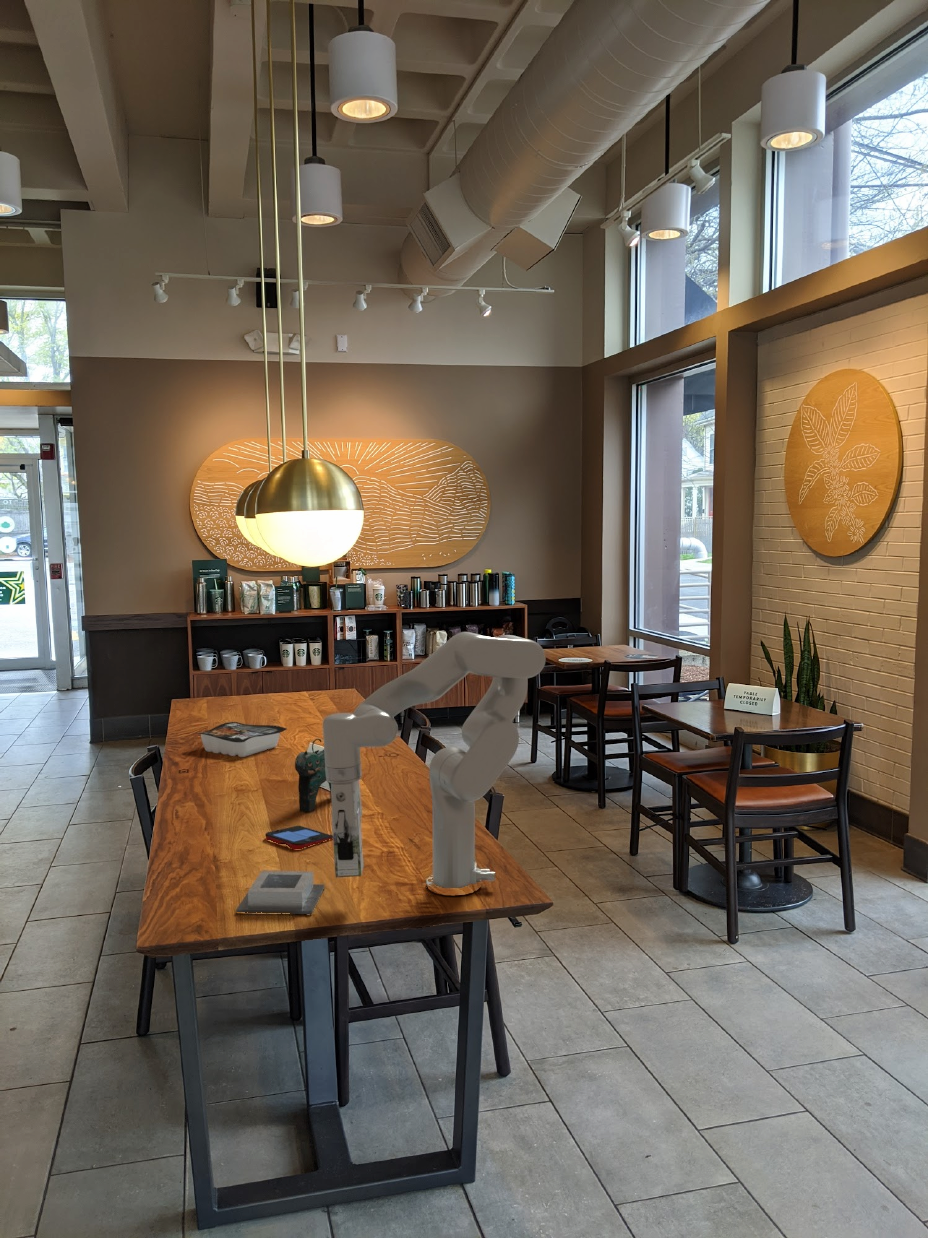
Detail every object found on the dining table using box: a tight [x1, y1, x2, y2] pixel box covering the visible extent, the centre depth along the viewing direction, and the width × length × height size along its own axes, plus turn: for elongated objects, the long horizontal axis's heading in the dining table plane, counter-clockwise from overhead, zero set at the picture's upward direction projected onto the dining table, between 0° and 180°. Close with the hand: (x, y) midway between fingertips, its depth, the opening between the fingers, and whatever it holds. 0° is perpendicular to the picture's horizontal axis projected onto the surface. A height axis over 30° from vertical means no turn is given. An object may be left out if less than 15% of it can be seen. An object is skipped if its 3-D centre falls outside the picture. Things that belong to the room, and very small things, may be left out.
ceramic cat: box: [294, 738, 331, 814], centre depth 270 cm, size 20×6×20 cm, turn 151°
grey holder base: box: [235, 870, 325, 915], centre depth 201 cm, size 16×14×4 cm
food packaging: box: [195, 721, 288, 758], centre depth 336 cm, size 25×8×23 cm
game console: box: [265, 825, 333, 850], centre depth 241 cm, size 14×13×2 cm
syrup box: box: [330, 809, 364, 878], centre depth 198 cm, size 6×6×14 cm
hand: (348, 852), depth 199 cm, fingers closed on syrup box, 6 cm apart
